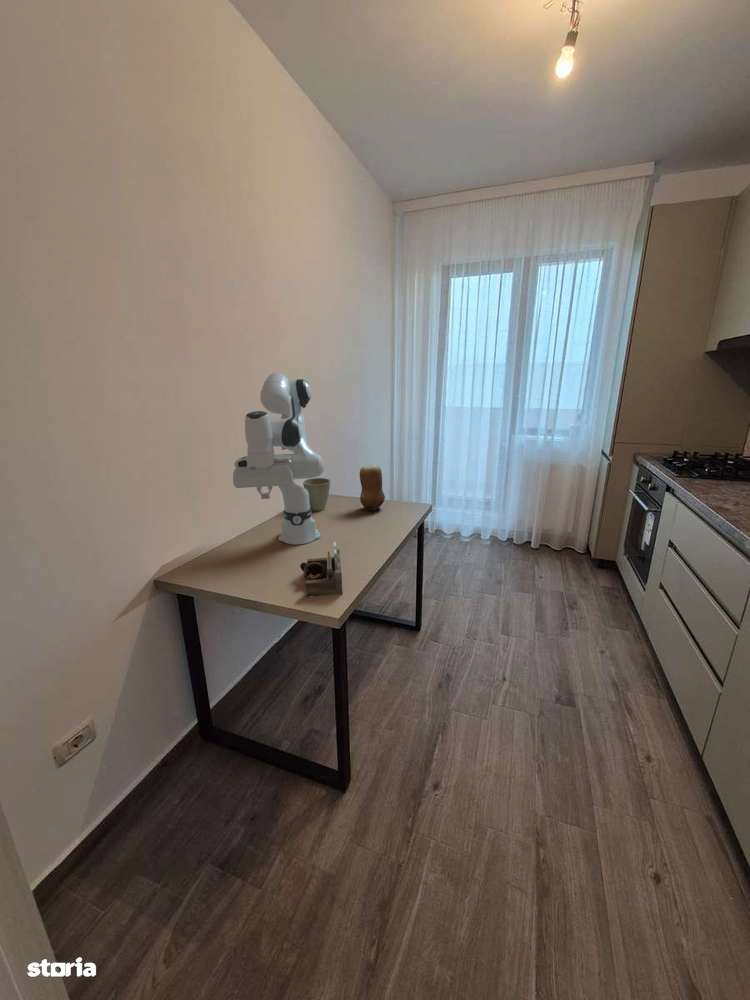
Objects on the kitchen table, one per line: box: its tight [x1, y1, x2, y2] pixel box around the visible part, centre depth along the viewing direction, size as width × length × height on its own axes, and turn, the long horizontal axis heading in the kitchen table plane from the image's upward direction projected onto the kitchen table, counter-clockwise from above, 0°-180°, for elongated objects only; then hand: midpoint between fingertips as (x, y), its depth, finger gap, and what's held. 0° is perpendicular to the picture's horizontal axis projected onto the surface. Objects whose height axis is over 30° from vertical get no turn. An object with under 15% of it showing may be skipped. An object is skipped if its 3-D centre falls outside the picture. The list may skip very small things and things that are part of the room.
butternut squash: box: [359, 464, 386, 511], centre depth 216 cm, size 14×13×25 cm
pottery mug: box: [299, 562, 328, 582], centre depth 142 cm, size 12×10×8 cm
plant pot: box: [302, 477, 331, 512], centre depth 221 cm, size 15×15×16 cm
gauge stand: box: [304, 540, 344, 598], centre depth 140 cm, size 19×12×13 cm, turn 7°
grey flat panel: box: [326, 551, 333, 579], centre depth 141 cm, size 10×2×11 cm, turn 7°
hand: (265, 498), depth 141 cm, fingers closed
